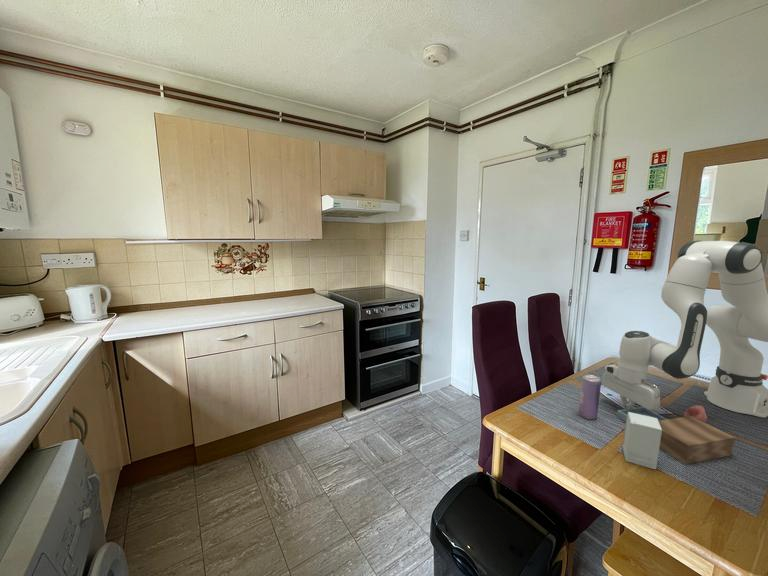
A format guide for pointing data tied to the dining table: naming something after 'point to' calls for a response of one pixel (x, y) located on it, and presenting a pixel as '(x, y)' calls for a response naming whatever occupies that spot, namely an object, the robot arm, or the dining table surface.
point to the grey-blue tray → (640, 410)
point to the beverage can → (589, 396)
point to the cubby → (694, 440)
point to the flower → (696, 413)
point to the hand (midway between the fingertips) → (626, 408)
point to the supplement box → (642, 440)
